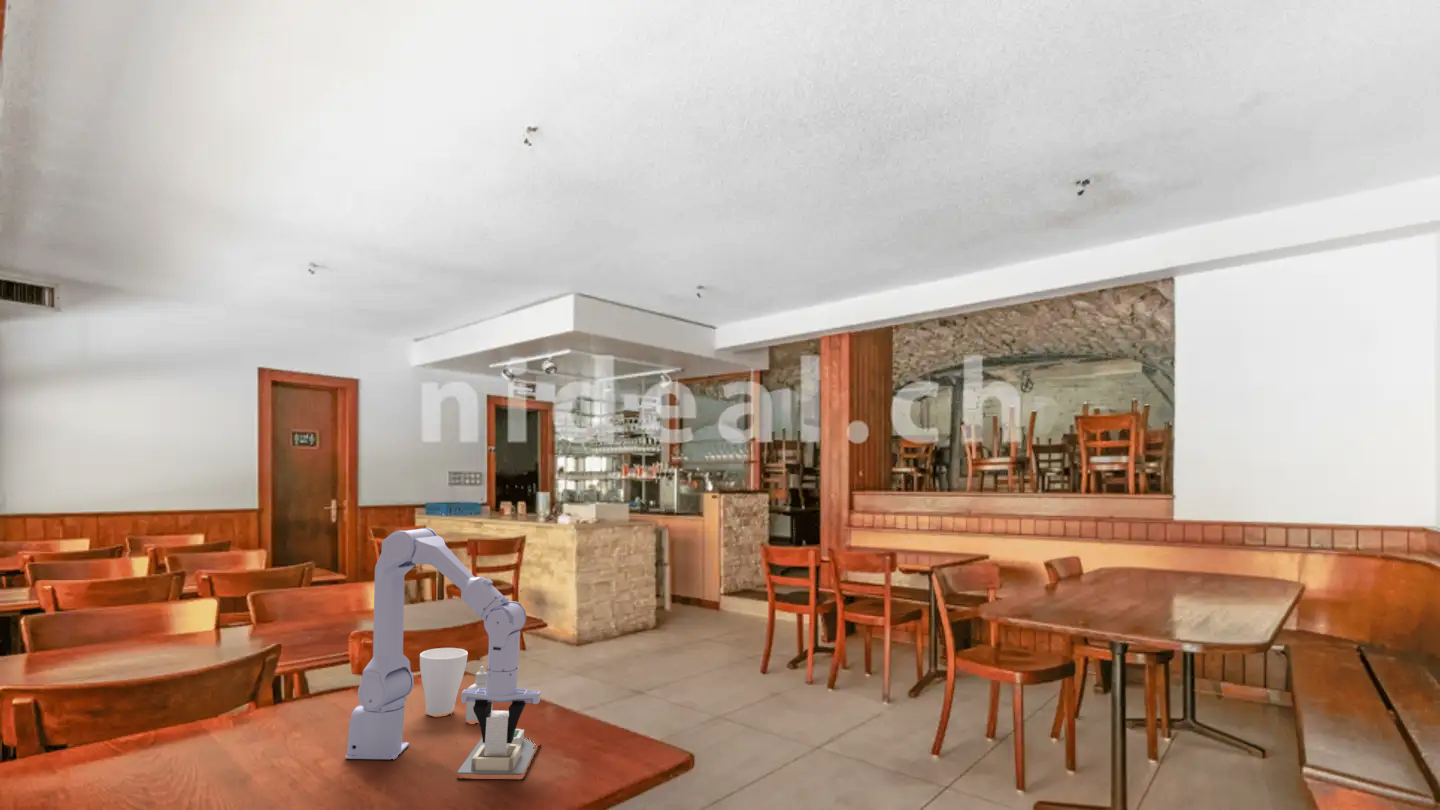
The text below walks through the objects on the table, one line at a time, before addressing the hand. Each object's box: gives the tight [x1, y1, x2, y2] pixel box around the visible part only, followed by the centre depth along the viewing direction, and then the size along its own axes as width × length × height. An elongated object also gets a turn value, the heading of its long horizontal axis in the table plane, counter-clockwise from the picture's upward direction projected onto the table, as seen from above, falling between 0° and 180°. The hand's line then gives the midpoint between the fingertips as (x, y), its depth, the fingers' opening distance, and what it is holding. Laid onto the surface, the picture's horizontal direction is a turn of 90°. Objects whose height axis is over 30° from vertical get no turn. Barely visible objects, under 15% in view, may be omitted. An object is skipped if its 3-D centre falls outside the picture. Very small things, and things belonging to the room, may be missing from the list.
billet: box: [484, 709, 511, 756], centre depth 143 cm, size 4×4×7 cm
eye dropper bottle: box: [464, 665, 494, 721], centre depth 168 cm, size 4×6×12 cm
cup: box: [419, 647, 469, 715], centre depth 172 cm, size 10×10×14 cm
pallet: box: [456, 728, 537, 775], centre depth 146 cm, size 12×18×3 cm, turn 3°
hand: (498, 741), depth 143 cm, fingers closed on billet, 4 cm apart
